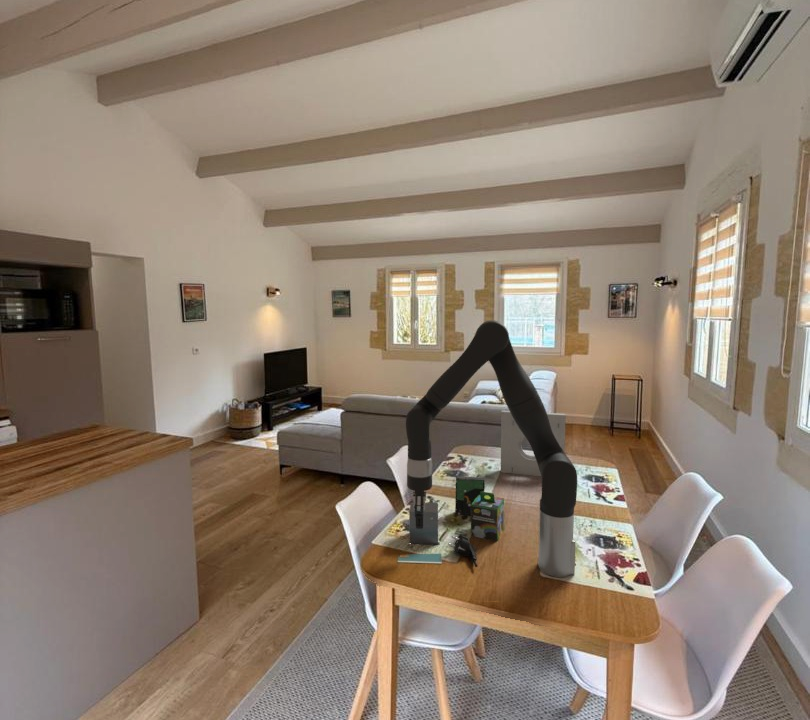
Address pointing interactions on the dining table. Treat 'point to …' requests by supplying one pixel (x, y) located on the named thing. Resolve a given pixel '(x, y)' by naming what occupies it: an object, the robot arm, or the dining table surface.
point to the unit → (425, 526)
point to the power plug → (464, 548)
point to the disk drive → (467, 493)
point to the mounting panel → (512, 440)
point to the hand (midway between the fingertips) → (419, 527)
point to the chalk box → (487, 516)
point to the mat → (421, 558)
